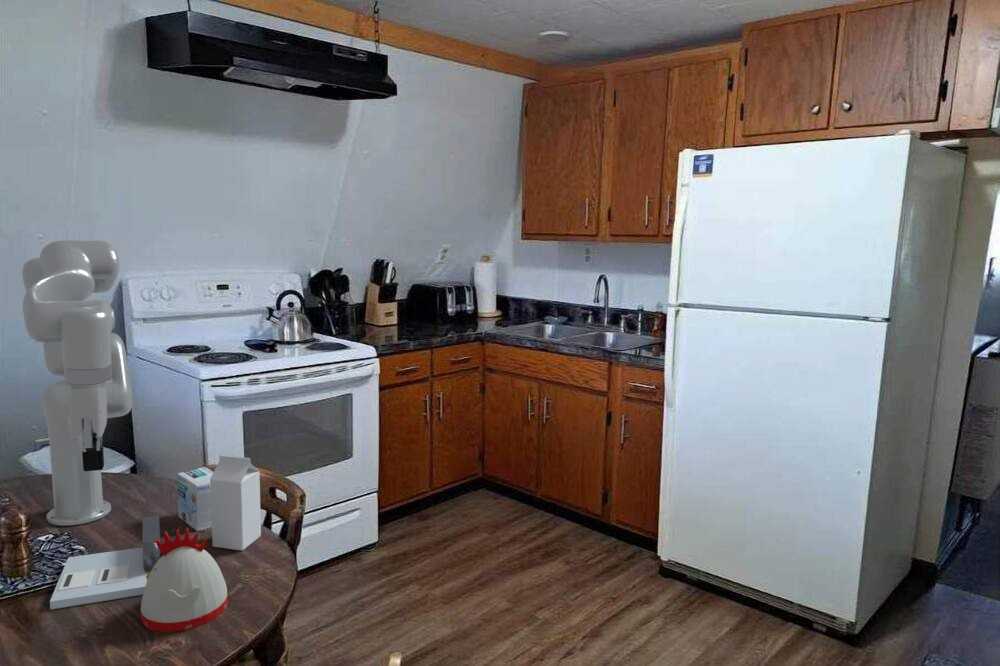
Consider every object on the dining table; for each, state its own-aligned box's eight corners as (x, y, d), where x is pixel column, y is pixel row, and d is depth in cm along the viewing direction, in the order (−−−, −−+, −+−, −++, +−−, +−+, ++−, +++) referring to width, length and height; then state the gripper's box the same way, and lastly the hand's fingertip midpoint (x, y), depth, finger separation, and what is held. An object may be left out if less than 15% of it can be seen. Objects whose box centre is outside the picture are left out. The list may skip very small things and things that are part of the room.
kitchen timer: (146, 595, 123) (142, 517, 121) (227, 583, 128) (225, 508, 126) (136, 638, 111) (131, 552, 108) (226, 623, 116) (224, 540, 113)
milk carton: (242, 551, 141) (240, 464, 138) (212, 547, 142) (209, 460, 139) (261, 536, 148) (259, 453, 145) (232, 532, 149) (229, 450, 146)
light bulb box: (177, 517, 156) (175, 472, 154) (206, 509, 161) (205, 465, 159) (197, 532, 149) (195, 485, 147) (227, 523, 154) (225, 478, 152)
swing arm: (160, 536, 142) (158, 512, 142) (161, 569, 129) (159, 544, 128) (144, 538, 141) (142, 515, 140) (143, 572, 128) (142, 547, 127)
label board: (68, 564, 133) (68, 556, 133) (153, 552, 139) (153, 544, 139) (50, 609, 118) (49, 600, 118) (146, 593, 124) (146, 584, 123)
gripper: (71, 365, 129) (77, 456, 132) (56, 387, 116) (63, 487, 119) (116, 364, 132) (120, 453, 135) (107, 384, 119) (112, 482, 122)
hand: (93, 468), depth 127 cm, fingers closed
